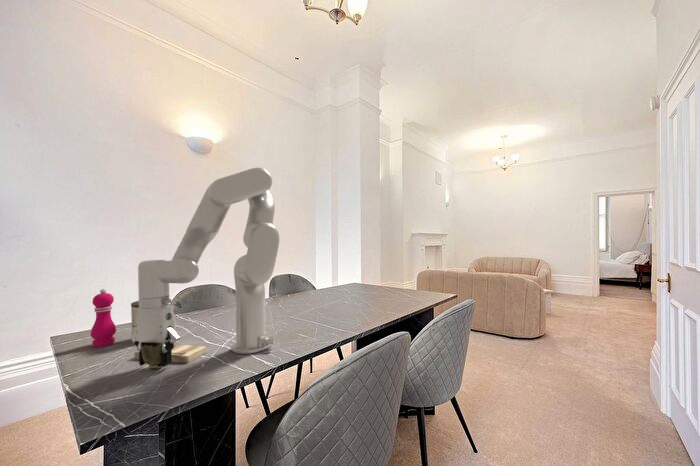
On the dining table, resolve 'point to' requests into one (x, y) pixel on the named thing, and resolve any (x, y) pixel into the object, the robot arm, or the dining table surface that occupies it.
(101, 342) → the pepper mill
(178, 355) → the maple board
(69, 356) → the dining table surface
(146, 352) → the cup
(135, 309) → the coffee can
